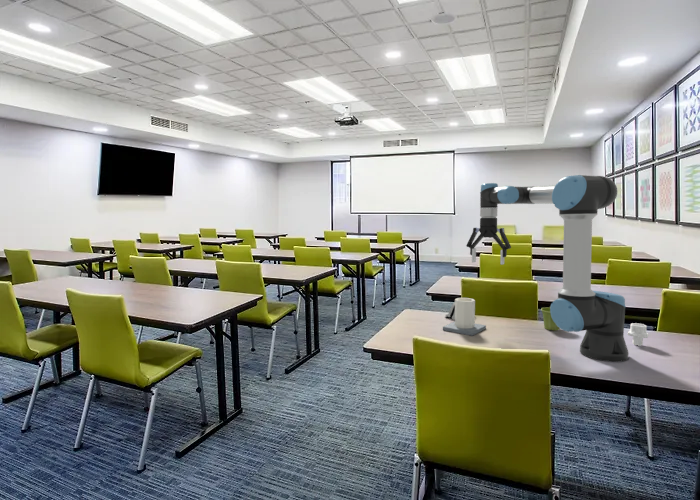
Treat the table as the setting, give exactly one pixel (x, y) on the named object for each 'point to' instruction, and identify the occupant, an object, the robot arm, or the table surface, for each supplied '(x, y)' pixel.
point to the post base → (467, 331)
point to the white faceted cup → (464, 313)
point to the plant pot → (549, 320)
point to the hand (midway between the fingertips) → (487, 263)
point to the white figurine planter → (638, 333)
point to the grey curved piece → (451, 312)
